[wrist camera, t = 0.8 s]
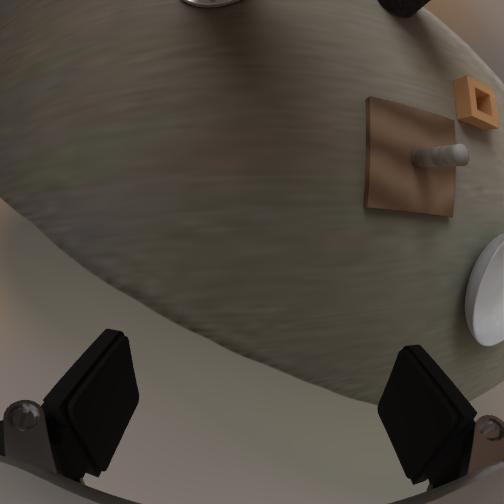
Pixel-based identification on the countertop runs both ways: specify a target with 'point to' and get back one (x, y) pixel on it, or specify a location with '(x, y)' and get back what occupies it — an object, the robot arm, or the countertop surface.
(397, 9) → the travel mug
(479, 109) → the collar
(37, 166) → the countertop surface
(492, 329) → the serving bowl
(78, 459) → the robot arm
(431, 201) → the post stand
